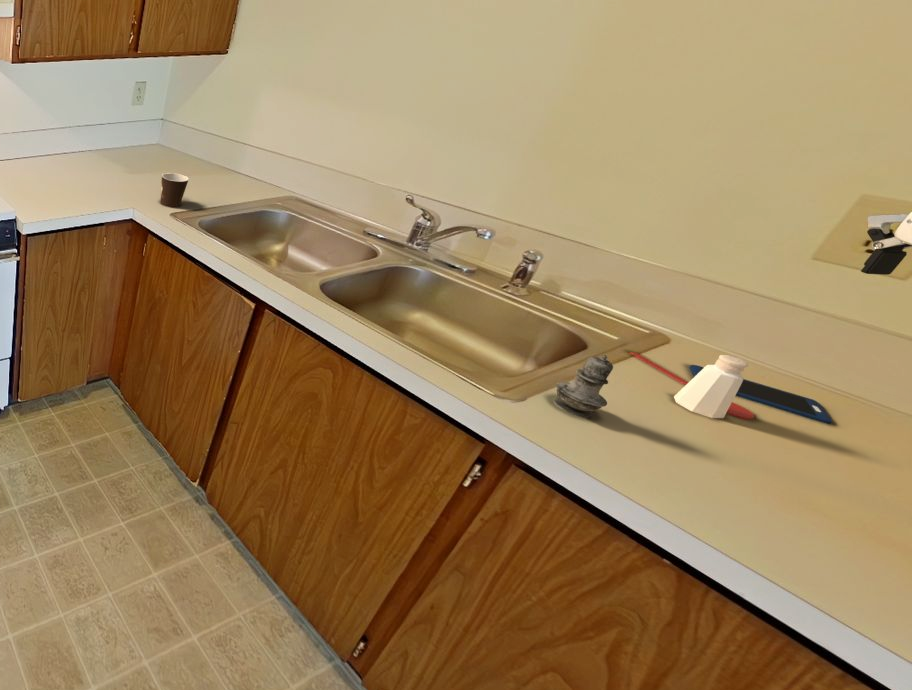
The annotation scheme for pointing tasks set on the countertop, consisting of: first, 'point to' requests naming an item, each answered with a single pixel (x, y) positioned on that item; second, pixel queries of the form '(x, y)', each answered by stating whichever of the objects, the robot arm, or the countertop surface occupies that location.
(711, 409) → the pepper shaker
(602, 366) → the grey chess piece
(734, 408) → the spoon
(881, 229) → the robot arm
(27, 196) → the countertop surface
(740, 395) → the cell phone
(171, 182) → the coffee mug
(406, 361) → the countertop surface
